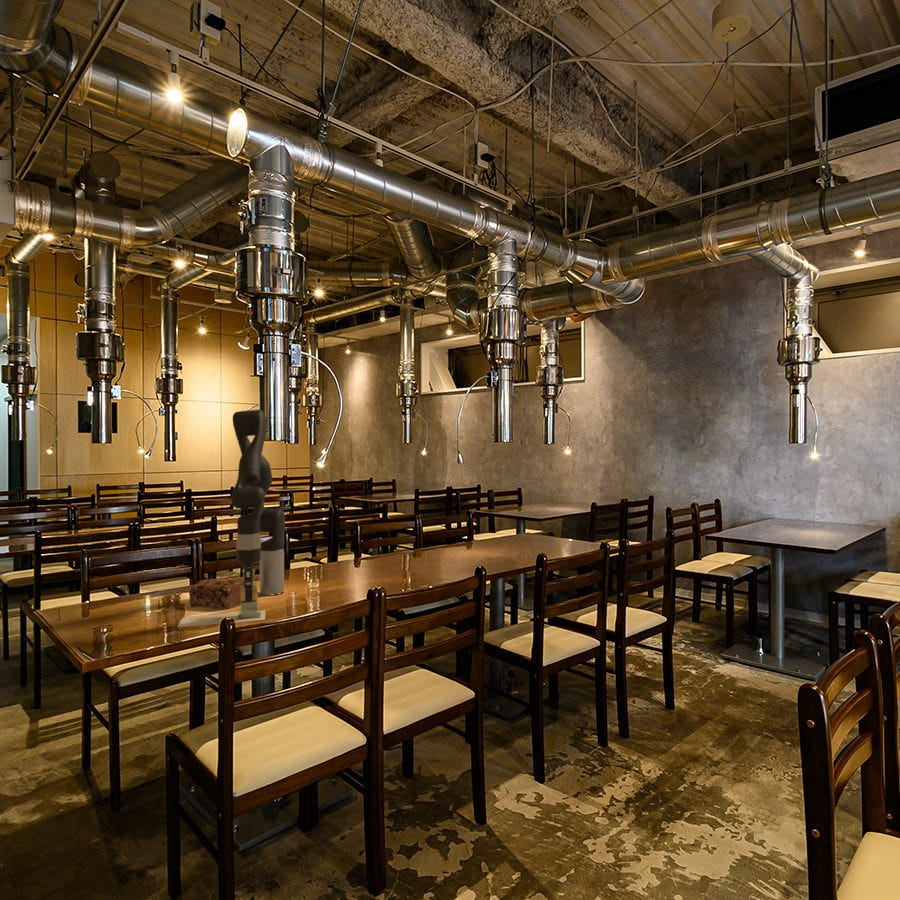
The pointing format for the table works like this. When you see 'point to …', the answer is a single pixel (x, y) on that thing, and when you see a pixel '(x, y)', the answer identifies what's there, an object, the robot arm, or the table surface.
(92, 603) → the table surface
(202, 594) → the bread
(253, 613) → the green block
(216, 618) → the blueprint board
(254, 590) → the ochre block
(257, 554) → the robot arm
